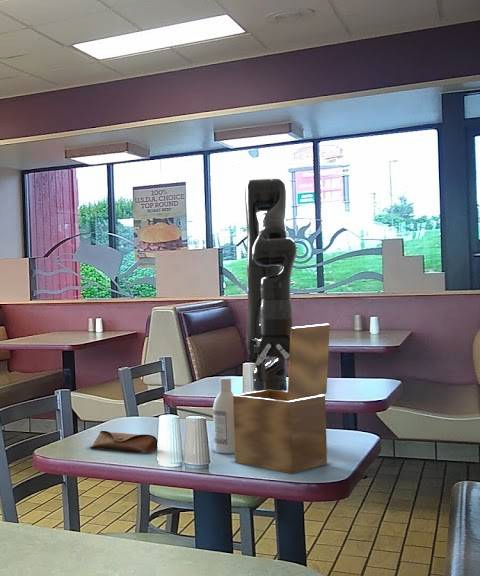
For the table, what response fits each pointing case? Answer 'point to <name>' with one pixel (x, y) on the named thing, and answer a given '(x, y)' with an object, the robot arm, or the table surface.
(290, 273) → the robot arm
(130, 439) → the sunglasses case
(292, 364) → the chest lid
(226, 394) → the bath foam
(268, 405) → the chest
